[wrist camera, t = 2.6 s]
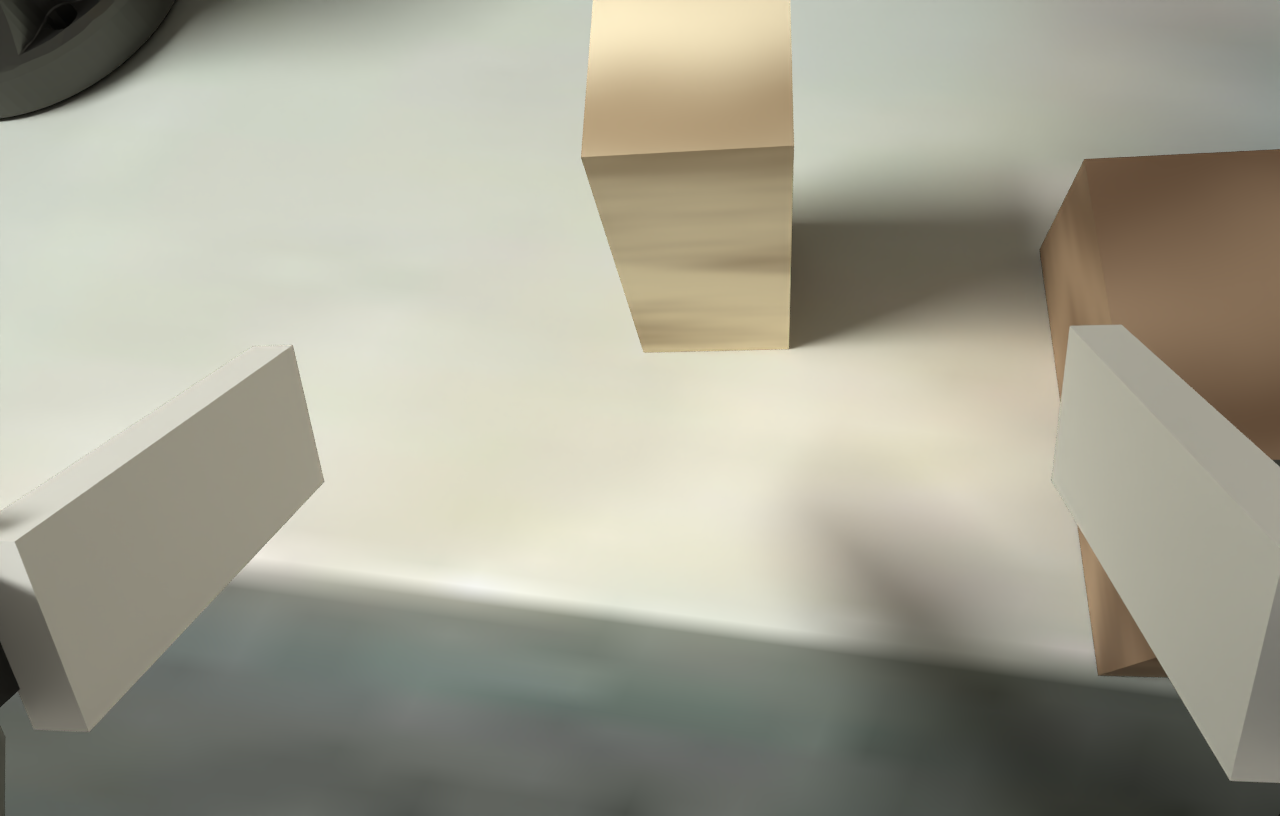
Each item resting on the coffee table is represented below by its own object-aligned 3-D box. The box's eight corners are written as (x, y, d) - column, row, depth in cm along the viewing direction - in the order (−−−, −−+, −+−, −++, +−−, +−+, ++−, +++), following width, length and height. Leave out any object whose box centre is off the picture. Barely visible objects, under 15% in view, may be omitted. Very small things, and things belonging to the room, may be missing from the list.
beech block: (648, 229, 34) (593, -4, 24) (786, 223, 33) (789, -20, 23) (643, 352, 32) (581, 156, 22) (788, 349, 31) (794, 145, 21)
